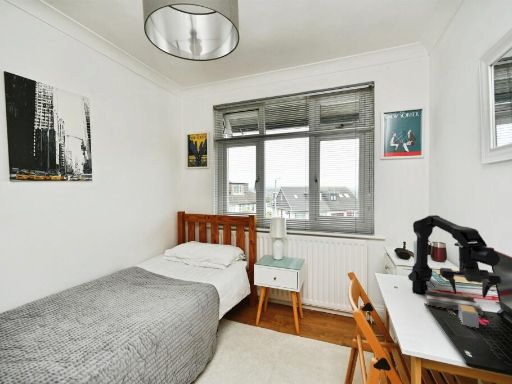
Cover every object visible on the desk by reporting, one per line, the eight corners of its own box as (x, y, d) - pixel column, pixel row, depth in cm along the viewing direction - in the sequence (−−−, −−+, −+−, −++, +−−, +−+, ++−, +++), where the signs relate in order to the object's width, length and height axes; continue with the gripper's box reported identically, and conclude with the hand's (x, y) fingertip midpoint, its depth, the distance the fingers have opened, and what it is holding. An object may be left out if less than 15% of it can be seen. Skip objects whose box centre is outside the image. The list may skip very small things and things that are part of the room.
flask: (428, 286, 135) (426, 243, 135) (418, 285, 137) (417, 242, 137) (422, 276, 151) (421, 237, 150) (414, 275, 153) (413, 236, 152)
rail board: (427, 306, 114) (427, 300, 114) (424, 295, 125) (424, 289, 125) (483, 316, 104) (483, 309, 104) (474, 303, 115) (474, 297, 115)
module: (462, 326, 98) (462, 311, 98) (458, 317, 104) (458, 303, 104) (478, 329, 95) (478, 314, 95) (473, 320, 101) (473, 306, 101)
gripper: (444, 261, 97) (446, 299, 97) (507, 266, 88) (509, 308, 88) (438, 254, 107) (440, 289, 107) (494, 258, 98) (496, 296, 98)
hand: (469, 295), depth 100 cm, fingers open, 9 cm apart
